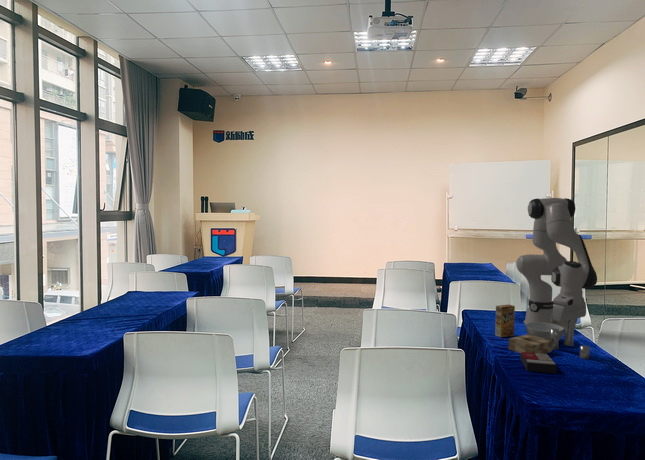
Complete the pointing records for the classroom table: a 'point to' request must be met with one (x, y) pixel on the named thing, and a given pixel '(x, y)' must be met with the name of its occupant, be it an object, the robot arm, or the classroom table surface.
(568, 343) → the long pin
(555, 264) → the robot arm
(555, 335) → the medium pin
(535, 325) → the cereal bowl
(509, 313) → the candy box
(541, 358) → the calculator
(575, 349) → the classroom table surface
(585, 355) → the short pin
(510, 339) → the block
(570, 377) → the classroom table surface
